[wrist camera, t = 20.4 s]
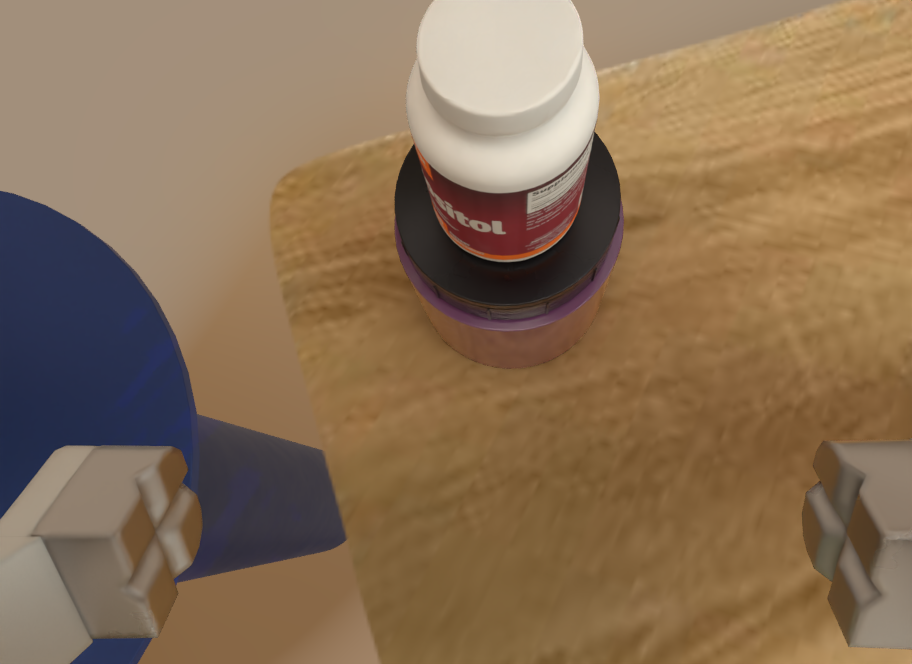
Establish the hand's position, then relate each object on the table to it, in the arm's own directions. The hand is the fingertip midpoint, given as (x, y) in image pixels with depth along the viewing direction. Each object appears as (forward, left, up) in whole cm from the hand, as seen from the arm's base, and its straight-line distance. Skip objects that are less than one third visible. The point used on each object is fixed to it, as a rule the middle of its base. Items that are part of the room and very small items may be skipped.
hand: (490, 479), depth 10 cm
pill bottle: (+1, +12, -20) cm, 23 cm away
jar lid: (+1, +12, -20) cm, 23 cm away
